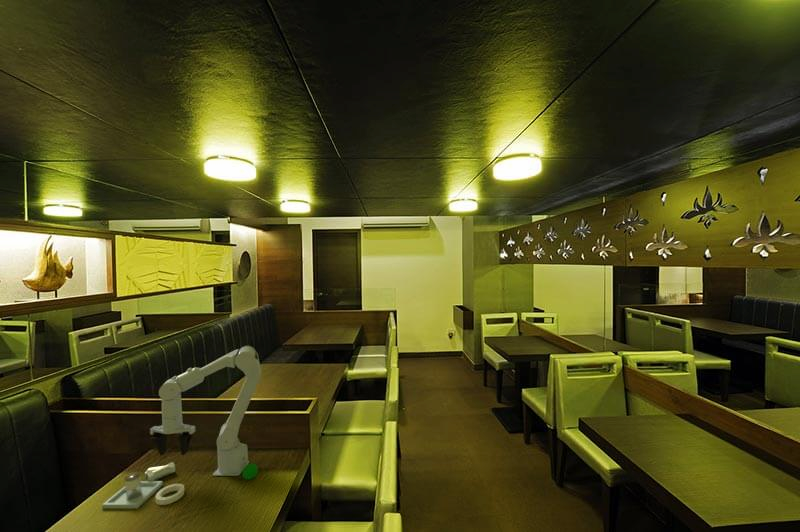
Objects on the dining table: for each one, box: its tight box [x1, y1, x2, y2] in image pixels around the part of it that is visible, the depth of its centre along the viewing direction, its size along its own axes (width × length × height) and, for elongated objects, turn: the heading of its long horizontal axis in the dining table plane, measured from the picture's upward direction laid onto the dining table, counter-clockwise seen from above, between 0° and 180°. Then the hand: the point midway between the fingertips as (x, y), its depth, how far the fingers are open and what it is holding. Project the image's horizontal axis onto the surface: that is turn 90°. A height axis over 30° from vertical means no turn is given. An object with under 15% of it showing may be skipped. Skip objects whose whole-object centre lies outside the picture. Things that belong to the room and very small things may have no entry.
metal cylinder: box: [124, 471, 142, 500], centre depth 111 cm, size 4×4×6 cm
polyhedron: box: [241, 462, 259, 480], centre depth 120 cm, size 5×5×5 cm
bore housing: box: [155, 483, 185, 506], centre depth 111 cm, size 8×8×2 cm
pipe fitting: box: [144, 461, 176, 481], centre depth 122 cm, size 8×4×7 cm
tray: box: [101, 480, 164, 510], centre depth 112 cm, size 11×11×1 cm
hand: (173, 453), depth 119 cm, fingers open, 7 cm apart
